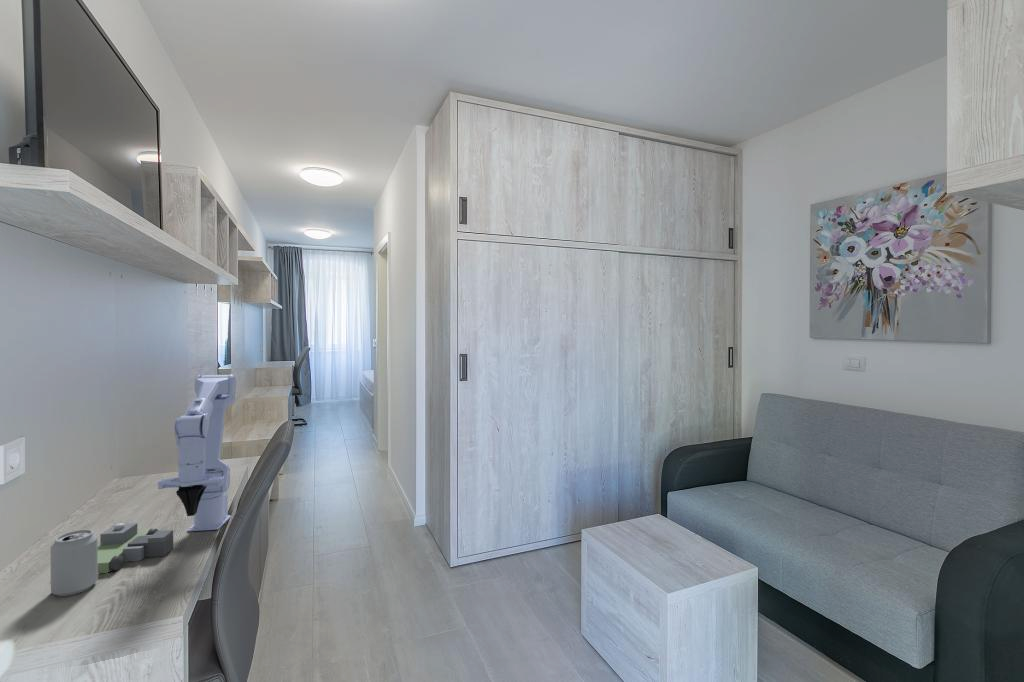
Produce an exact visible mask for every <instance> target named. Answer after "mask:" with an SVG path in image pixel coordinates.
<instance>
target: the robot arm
mask: <svg viewBox="0 0 1024 682" xmlns="http://www.w3.org/2000/svg"><path fill="white" fill-rule="evenodd" d="M236 381H237V380H236V377H235V375H234V374H233V373H231V374H208V375H206V374H198V375H197V376H196V377H195V380H194V392H195V395H196V398H194V399H193V400H191V401H190V403H189V404H188V406H187V408H186V410H185V411H184V414H183V415H180V417H177V418H176V419H175V421H174V427H173V428H174V437H175V445H176V446H177V455H178V458H177V460H178V462H177V465H178V469H177V470H178V471H177V474H178V475H177V476H178V477H171V478H162V479H160V480H158V481H157V489H158V490H163V489H169V488H178V490H176V496H177V497H178V498H179V499H180V500H181V502H182V504H183V506H184V510H185V512H186V516H187V517H193V524H192V525H191V526H189V528H187V532H200V531H201V532H203V531H215V530H216V531H217V530H219V529H220V528H222V527H223V525H224V524H225V523H227V521H229V520H230V518H231V517H232V515H230V514H228V511H229V510H228V507H229V506H228V504H229V503H228V501H229V500H228V495H227V491H228V490H229V489H230V483H231V473H230V471H231V468H230V466H229V465H228V464H227V463H226V462H224V461H223V460H221V456H222V455H221V454H222V447H223V446H222V445H223V437H224V429H225V427H224V426H225V421H226V420H225V419H226V418H225V417H226V412H227V408H228V407H229V405H231V404H233V403H234V402H235V401H234V400H235V398H236V397H235V396H236V388H237V387H236V385H237V382H236Z"/></svg>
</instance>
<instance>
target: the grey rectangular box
mask: <svg viewBox="0 0 1024 682" xmlns="http://www.w3.org/2000/svg"><path fill="white" fill-rule="evenodd" d="M132 546H144V558H154V557H155V558H156V557H165V556H166V555H167V554H168V553H170V552H171V550H172V549H174V530H173V529H167V530H166V529H165V530H158V531H157V532H155V533H154V534H153V535H151V536H138V537H137V538H135V539H134V540H133V541H131V542H130V543H128V547H132Z"/></svg>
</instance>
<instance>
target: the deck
mask: <svg viewBox="0 0 1024 682" xmlns="http://www.w3.org/2000/svg"><path fill="white" fill-rule="evenodd" d="M157 531H159V530H158V528H150V529H144V530H143V529H141V530H138V522H133V523H124V522H122V523H121V522H120V523H116V524H114V525H112V526H111V527H109V528H108V529H106V530H104V531H103V532H102V533H100V535H99V540H100V541H98V573H105V574H109V573H108V572H110V571H111V572H114V570H115V571H119V569H120V568H121V569H122V567H123V565H124V563H126V562H125V561H132V562H140V561H139V560H142V559H143V560H144V559H145V557H144V546H132V547H128V543H130V542H131V541H133V540H134V539H135V538H137V537H138V536H151V535H153V534H154V533H155V532H157ZM143 560H142V561H143ZM121 569H120V570H121ZM111 572H110V573H111Z"/></svg>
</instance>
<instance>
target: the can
mask: <svg viewBox="0 0 1024 682" xmlns="http://www.w3.org/2000/svg"><path fill="white" fill-rule="evenodd" d="M94 533H95V532H94V530H93V529H88V528H87V529H86V528H84V529H77V530H72V531H67V532H65V533H63V534H60V535H58V536H57V537H55V538H54V543H52V545H51V546H50V593H51V594H53V595H56V596H57V597H69V595H70V596H75V595H77V593H78V594H80V592H81V593H83V592H86V591H87V590H89V589H90V588H92V586H93V585H94V584H95V583H97V581H98V580H99V574H98V542H99V541H98V536H97V535H95V534H94Z"/></svg>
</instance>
